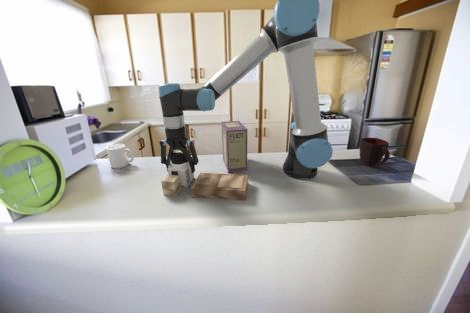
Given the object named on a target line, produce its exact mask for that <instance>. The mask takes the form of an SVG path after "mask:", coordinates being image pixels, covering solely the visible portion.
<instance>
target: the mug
mask: <svg viewBox="0 0 470 313" xmlns="http://www.w3.org/2000/svg"><path fill="white" fill-rule="evenodd" d="M389 145H390V143H389V142H388V141H387V140H384V139H381V138H378V137H362V138H361V139H360V141H359V160H360V164H362V165H363V166H365V167H371V168H372V167H373V168H374V167H377V166H378V165H381V164H384V163H386V162H387V161H388V160H389V159H390V158H391V157H390V156H391V153H390V150H389V149H388V148H389Z"/></svg>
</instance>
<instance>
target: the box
mask: <svg viewBox="0 0 470 313" xmlns="http://www.w3.org/2000/svg"><path fill="white" fill-rule="evenodd" d="M220 125H221V141H222V142H221V143H222V160H223V162H224V165H225V167H226V171H227V174H232V173H239V172H248V128H247V127H246V126H245V125H244V124H243V123H242V122H241V121H240V120H231V121H221V124H220Z"/></svg>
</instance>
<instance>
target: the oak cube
mask: <svg viewBox="0 0 470 313" xmlns="http://www.w3.org/2000/svg"><path fill="white" fill-rule="evenodd" d="M161 187H162V193H163V196H177V195H178V193H179V192H180V191H181V189H182V186H181V185H180V178H179V175H168V174H166V175H165V176H164V177H163V179H162V180H161Z"/></svg>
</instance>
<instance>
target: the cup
mask: <svg viewBox="0 0 470 313" xmlns="http://www.w3.org/2000/svg"><path fill="white" fill-rule="evenodd" d="M105 151H106V155H107V157H108V161H109V164H110V167H111V168H112V169H122V168H125V167H127V166H128V165H129V164H130V163H132V162H133V161H134V154H133V151H132V150H131V149H129V148H127V147H126V145H125V144H124V143H115V144H110V145H108V146H106V147H105ZM127 152H129V154H130V159H129V157H128V153H127Z"/></svg>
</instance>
